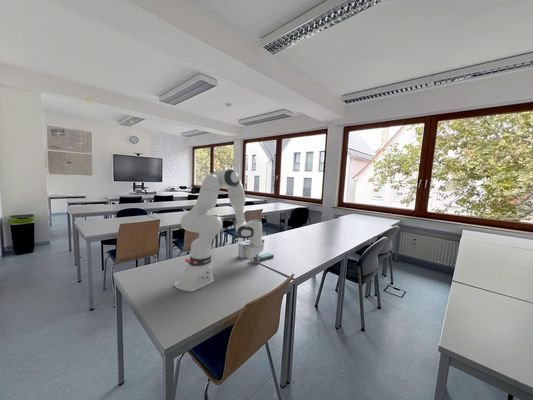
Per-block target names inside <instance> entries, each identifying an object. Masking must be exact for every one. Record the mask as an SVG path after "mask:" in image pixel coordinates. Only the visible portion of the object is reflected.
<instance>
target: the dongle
mask: <svg viewBox="0 0 533 400" xmlns="http://www.w3.org/2000/svg"><path fill="white" fill-rule="evenodd" d="M254 259H255V260H254V262H251V259H248V258H247V260H248V261H249V262H250V264H253V265H260V262H261V261H260V258H259V257H255V256H254Z"/></svg>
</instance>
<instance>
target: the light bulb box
mask: <svg viewBox="0 0 533 400" xmlns="http://www.w3.org/2000/svg"><path fill="white" fill-rule="evenodd" d="M248 246H249V240H247V241H243V242H241V241H240V242H238V247H237V248H238V249H237V253H238V254H237V256H238V257H239V258H241V259H247V258H246V250H247V248H248Z"/></svg>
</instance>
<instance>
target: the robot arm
mask: <svg viewBox="0 0 533 400" xmlns="http://www.w3.org/2000/svg"><path fill="white" fill-rule="evenodd" d="M242 183H243V182H242V180H241V179H240V175H239V173H238V171H237V170H235V169H233V168H231V169H230V168H229V169H221V170H216V171H213V172H212V173H210V174H207V175H205V177H204V178H203V181H202V184H201V185H200V190H199V193H198V196H197V198H196V199H197V200H196V202H195V204H194V205H193V207H191V209H189V211H188V212H186V213H185V214H182V216H181V218H180V226H181V228H182V229H184V230H185V231H188V232H192V233H198V238H195V239H194V240H193V241H192V243H191V244H190V256H189V258H185V260H184V261H185V263H188V264H187V265H186V266H185V267H184V269H183V270H182V271H181V272H180V274H179V277H178V280H176V282H174V283H173V286H174V287H175V288H176V289H177V290H181V291H183V292H195V291H197V290H199V289H201V288H203V287H206V286H208V285H210V284H212V283H214V281H215V280H214V276H213V267H212V263H211V262H212V253H211V250H212V248H211V247H212V242H213V240H214V238H215V237H216V236H217V235H218V234H219V233H220V232H221V231H222V230H223V229H222V228H223V221H222V219H221V217H219V216H216V215H213V214H208V212H209V211H211V210H212V209H215V207H216V206H217V201H218V196H219V193H220V189H221V188H226V189H227V194H228V200H229V203H230V206H231V207H232V209H233V210H234V214H235V219H236V222H235V223H236V224H235V227H234V228H235V229H234V230H235V231H236V235H237V236H238V238H240V239H243V240H246V239H249V240H248V241H249V246H248V248H247V250H246V258H245V259H247V260H248V259H251V261H250V263H251V262H254V260H255V259H254V256H255V257H258V255H260V253H262V252H263V251H264V246H265V245H264V244H265V239H263V236H262V235H263V234H262V233H263V223H262V221H261V220H259V219H256V218H253V219H250V220H249V221H246V218H245V213H244V212H245V211H244V206H245V204H246V193H245V189H244V186H243V184H242Z"/></svg>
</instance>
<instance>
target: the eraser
mask: <svg viewBox="0 0 533 400" xmlns="http://www.w3.org/2000/svg"><path fill="white" fill-rule="evenodd" d="M258 257H259V258H260V262H263V261H267V260H271V259H274V254H273V253H272V252H266V253H261V254H259V255H258Z"/></svg>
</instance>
